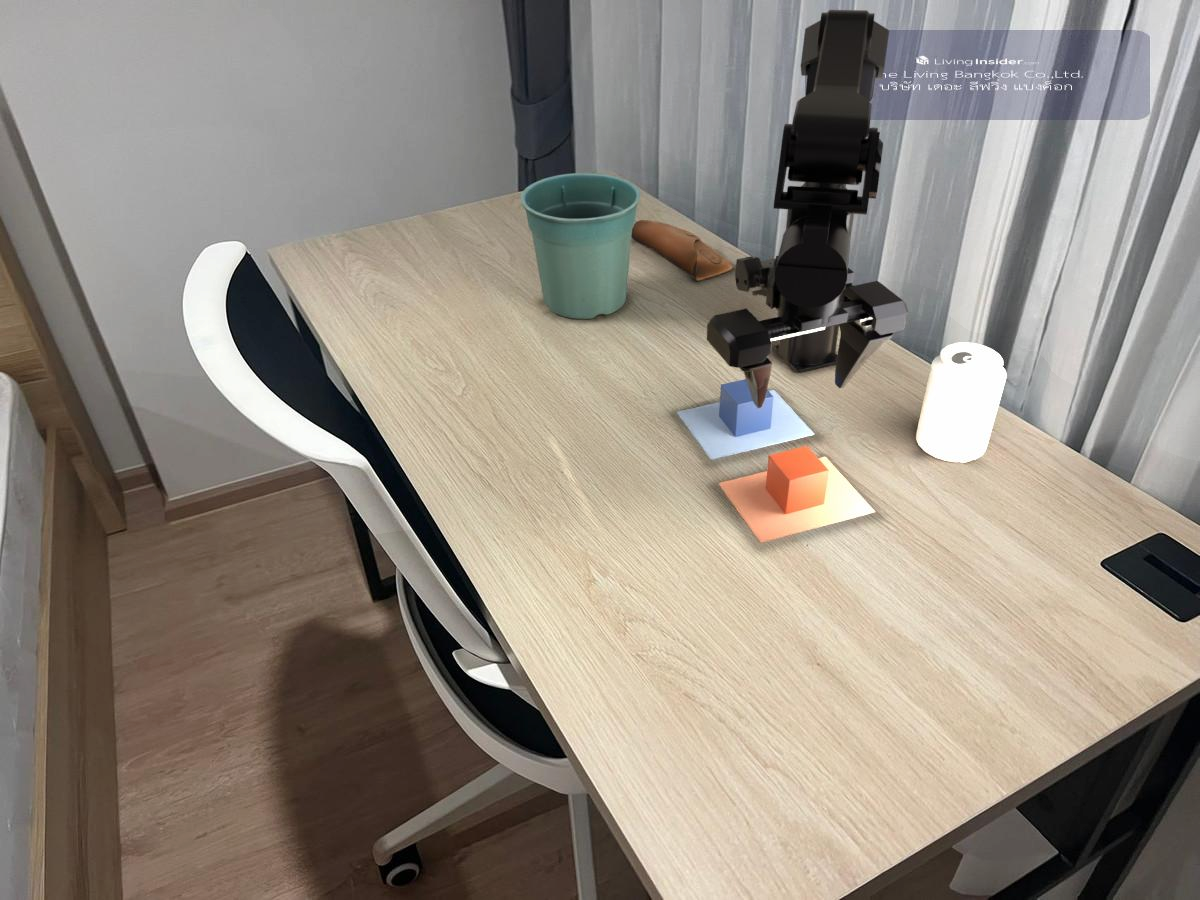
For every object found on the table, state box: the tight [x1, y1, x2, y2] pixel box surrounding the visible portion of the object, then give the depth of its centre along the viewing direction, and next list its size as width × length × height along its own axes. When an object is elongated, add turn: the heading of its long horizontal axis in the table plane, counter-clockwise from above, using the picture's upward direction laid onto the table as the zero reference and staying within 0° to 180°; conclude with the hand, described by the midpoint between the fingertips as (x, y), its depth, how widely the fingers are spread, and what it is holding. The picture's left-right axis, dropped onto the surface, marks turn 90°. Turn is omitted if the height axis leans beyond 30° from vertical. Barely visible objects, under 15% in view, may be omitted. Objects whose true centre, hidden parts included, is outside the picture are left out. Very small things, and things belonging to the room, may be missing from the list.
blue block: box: [719, 378, 774, 437], centre depth 104 cm, size 4×4×4 cm
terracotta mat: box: [717, 455, 876, 544], centre depth 94 cm, size 13×10×1 cm
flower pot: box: [519, 172, 642, 320], centre depth 127 cm, size 16×16×16 cm
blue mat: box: [676, 389, 816, 461], centre depth 105 cm, size 13×10×1 cm
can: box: [915, 342, 1007, 464], centre depth 97 cm, size 8×8×12 cm
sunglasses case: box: [631, 219, 734, 282], centre depth 142 cm, size 18×7×7 cm
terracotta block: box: [765, 445, 829, 514], centre depth 93 cm, size 4×4×4 cm
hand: (798, 395), depth 91 cm, fingers open, 9 cm apart
